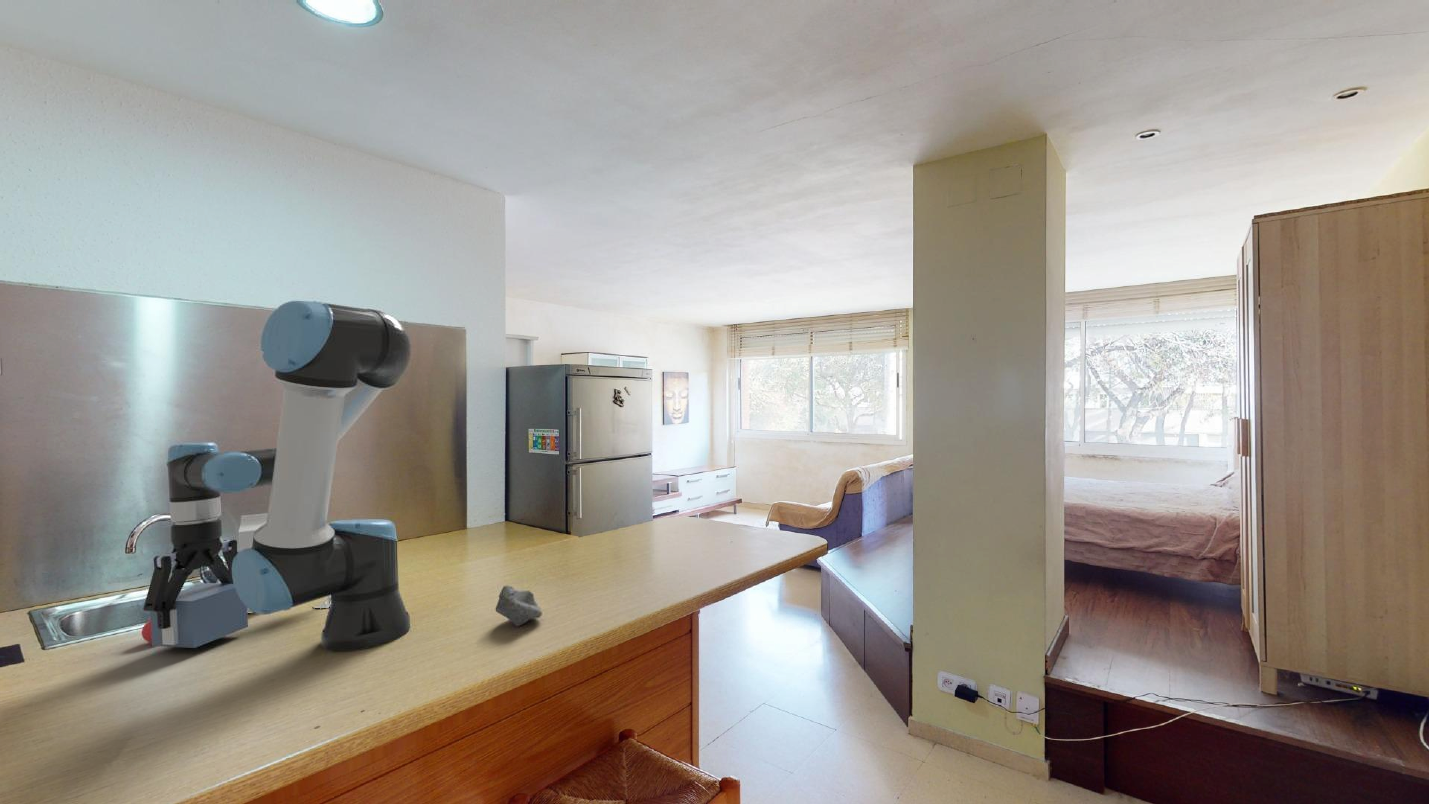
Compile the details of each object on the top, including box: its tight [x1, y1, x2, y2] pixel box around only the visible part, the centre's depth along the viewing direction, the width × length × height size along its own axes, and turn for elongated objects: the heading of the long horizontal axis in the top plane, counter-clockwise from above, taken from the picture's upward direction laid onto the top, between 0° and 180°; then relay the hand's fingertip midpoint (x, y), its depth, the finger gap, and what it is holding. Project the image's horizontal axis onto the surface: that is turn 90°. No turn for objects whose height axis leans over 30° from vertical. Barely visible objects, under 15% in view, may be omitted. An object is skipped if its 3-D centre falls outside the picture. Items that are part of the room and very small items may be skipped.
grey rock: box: [495, 585, 543, 627], centre depth 119 cm, size 11×9×8 cm
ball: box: [141, 619, 152, 644], centre depth 117 cm, size 5×5×5 cm
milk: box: [238, 512, 268, 612], centre depth 135 cm, size 6×6×22 cm
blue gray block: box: [149, 582, 249, 649], centre depth 115 cm, size 10×10×9 cm
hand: (201, 632), depth 115 cm, fingers closed on blue gray block, 10 cm apart
